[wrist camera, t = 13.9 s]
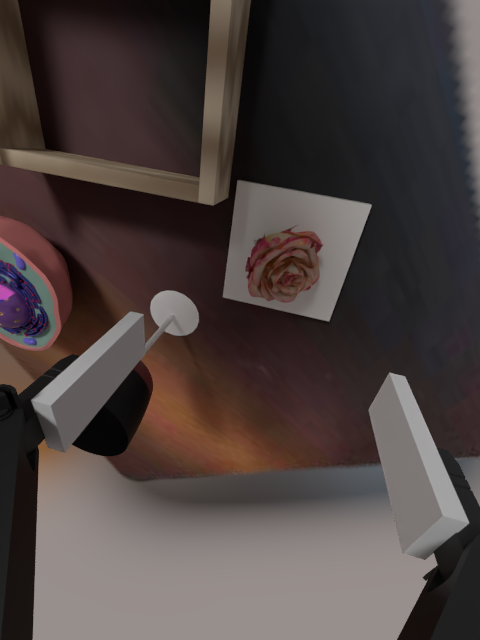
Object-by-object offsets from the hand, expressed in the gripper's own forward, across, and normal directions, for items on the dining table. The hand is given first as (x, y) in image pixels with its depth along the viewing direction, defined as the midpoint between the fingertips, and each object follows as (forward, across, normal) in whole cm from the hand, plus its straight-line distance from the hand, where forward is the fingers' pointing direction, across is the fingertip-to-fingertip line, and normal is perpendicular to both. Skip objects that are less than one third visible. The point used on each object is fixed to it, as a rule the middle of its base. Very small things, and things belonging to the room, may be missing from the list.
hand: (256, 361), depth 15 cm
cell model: (+22, -34, -10) cm, 42 cm away
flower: (+21, +1, 0) cm, 21 cm away
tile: (+22, +1, -1) cm, 22 cm away
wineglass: (+22, -13, -13) cm, 29 cm away
